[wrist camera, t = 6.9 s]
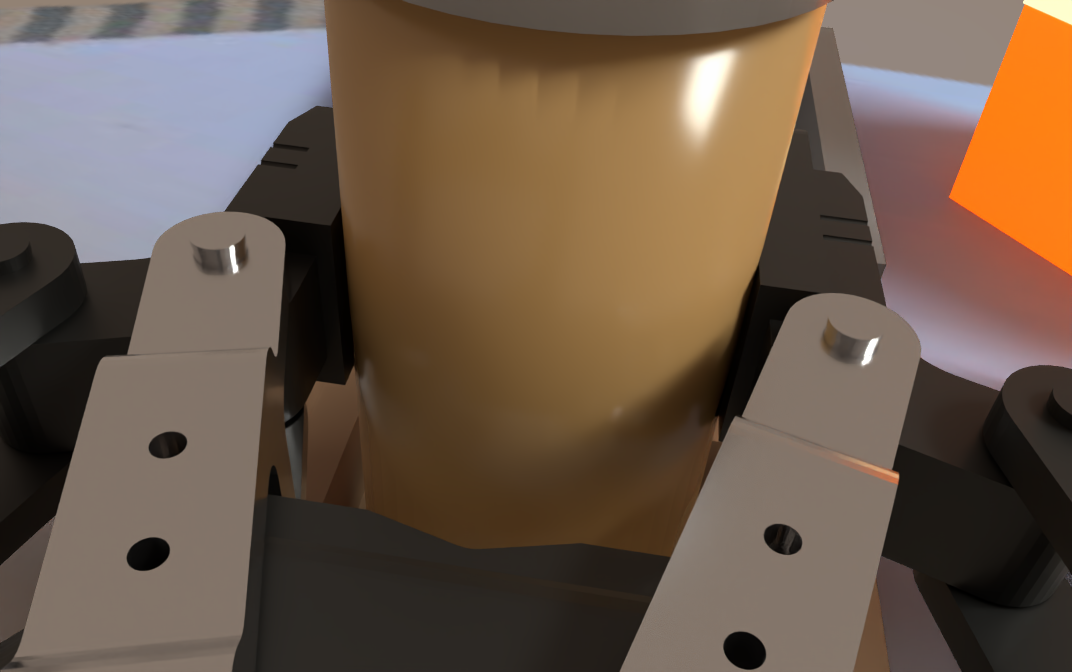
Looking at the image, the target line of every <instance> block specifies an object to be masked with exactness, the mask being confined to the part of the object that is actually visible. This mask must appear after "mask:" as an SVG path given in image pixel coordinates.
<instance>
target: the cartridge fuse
mask: <svg viewBox="0 0 1072 672" xmlns="http://www.w3.org/2000/svg"><path fill="white" fill-rule="evenodd" d="M831 1H833V0H324V5H325V17H326V30H327V42H328V54H329V66H330V78H331V90H332V102H333V114H334V126H335V138H336V150H337V162H338V174H339V187H340V199H341V211H342V223H343V235H344V247H345V259H346V271H347V283H348V295H349V307H350V319H351V332H352V344H353V356H354V368H355V380H356V392H357V404H358V416H359V428H360V440H361V452H362V464H363V476H364V489H365V501H366V510H370V511H372V512H375V513H377V514H380V515H382V516H385V517H387V518H390V519H392V520H395V521H397V522H400V523H403V524H405V525H408V526H410V527H413V528H415V529H418V530H420V531H423V532H425V533H428V534H430V535H433V536H435V537H438V538H440V539H443V540H445V541H448V542H450V543H453V544H455V545H458V546H461V547H464V548H470V549H489V548H506V547H523V546H540V545H558V544H575V543H584V544H590V545H597V546H603V547H610V548H616V549H622V550H629V551H635V552H642V553H648V554H654V555H661V556H667V557H671V556H672V554H673V552H674V550H675V547H676V545H677V543H678V541H679V538H680V536H681V534H682V532H683V529H684V527H685V525H686V523H687V521H688V518H689V516H690V514H691V512H692V509H693V507H694V505H695V503H696V501H697V498H698V494H699V490H700V486H701V482H702V479H703V475H704V471H705V467H706V463H707V459H708V456H709V452H710V448H711V444H712V440H713V437H714V433H715V429H716V425H717V421H718V415H719V412H720V408H721V404H722V400H723V396H724V393H725V389H726V385H727V381H728V377H729V373H730V370H731V366H732V362H733V358H734V354H735V351H736V347H737V343H738V339H739V335H740V331H741V328H742V324H743V320H744V316H745V312H746V308H747V305H748V301H749V297H750V293H751V289H752V286H753V282H754V278H755V274H756V270H757V266H758V263H759V259H760V256H761V253H762V249H763V246H764V242H765V238H766V234H767V231H768V227H769V223H770V219H771V215H772V211H773V208H774V204H775V200H776V196H777V192H778V189H779V185H780V181H781V177H782V173H783V170H784V166H785V162H786V158H787V154H788V150H789V147H790V143H791V139H792V135H793V131H794V128H795V124H796V120H797V116H798V112H799V109H800V105H801V101H802V97H803V93H804V89H805V86H806V82H807V78H808V74H809V70H810V67H811V63H812V59H813V55H814V51H815V47H816V44H817V40H818V36H819V32H820V28H821V25H822V21H823V17H824V13H825V9H826V5H827V3H829V2H831Z"/></svg>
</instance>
